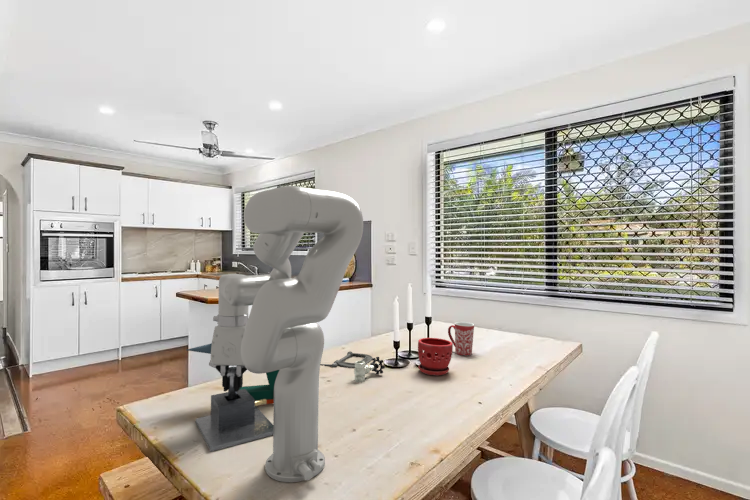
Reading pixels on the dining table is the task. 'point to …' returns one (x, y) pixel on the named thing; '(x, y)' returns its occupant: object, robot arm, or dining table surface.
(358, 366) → the valve
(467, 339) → the mug
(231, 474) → the dining table surface
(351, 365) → the c clamp
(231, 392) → the chuck key
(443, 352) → the plant pot
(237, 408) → the block
